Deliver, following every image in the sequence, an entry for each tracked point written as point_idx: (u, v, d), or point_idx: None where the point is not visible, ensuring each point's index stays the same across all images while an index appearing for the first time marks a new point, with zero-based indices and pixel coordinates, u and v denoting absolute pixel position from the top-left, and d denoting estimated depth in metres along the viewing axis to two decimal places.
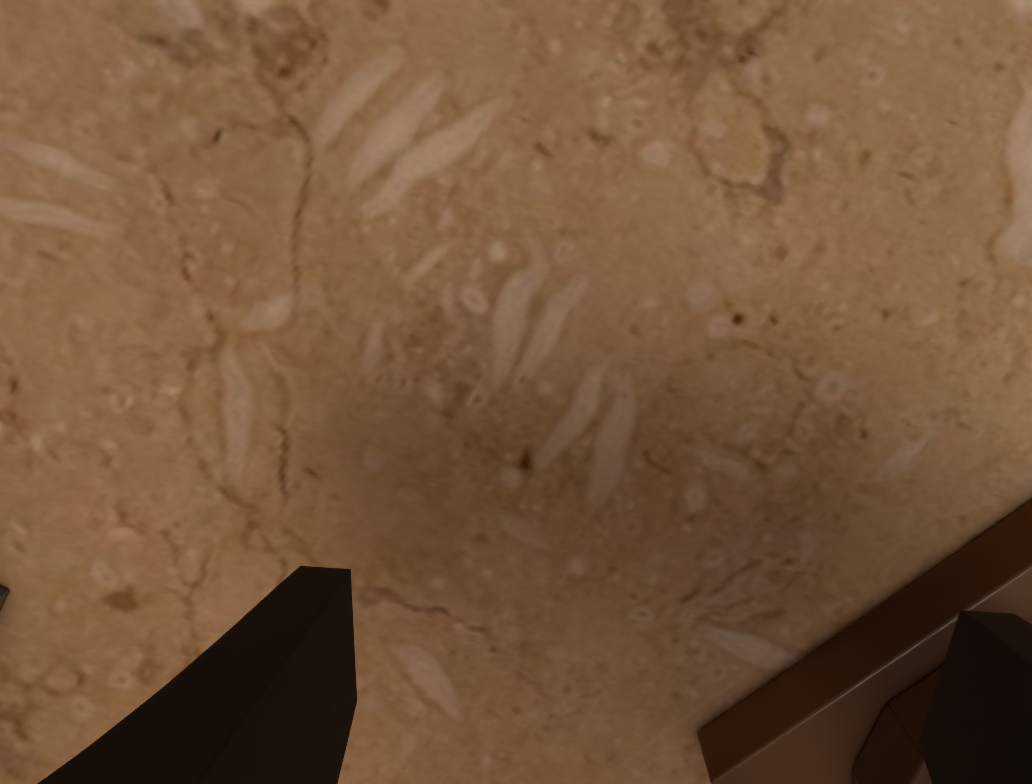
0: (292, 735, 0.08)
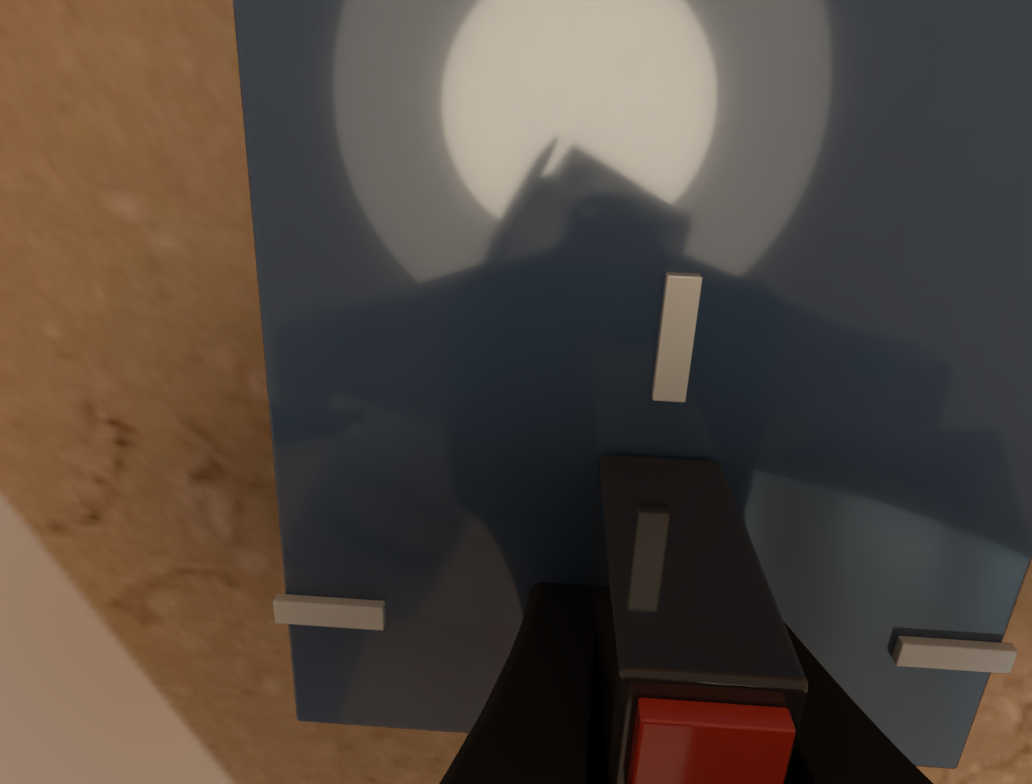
0: None
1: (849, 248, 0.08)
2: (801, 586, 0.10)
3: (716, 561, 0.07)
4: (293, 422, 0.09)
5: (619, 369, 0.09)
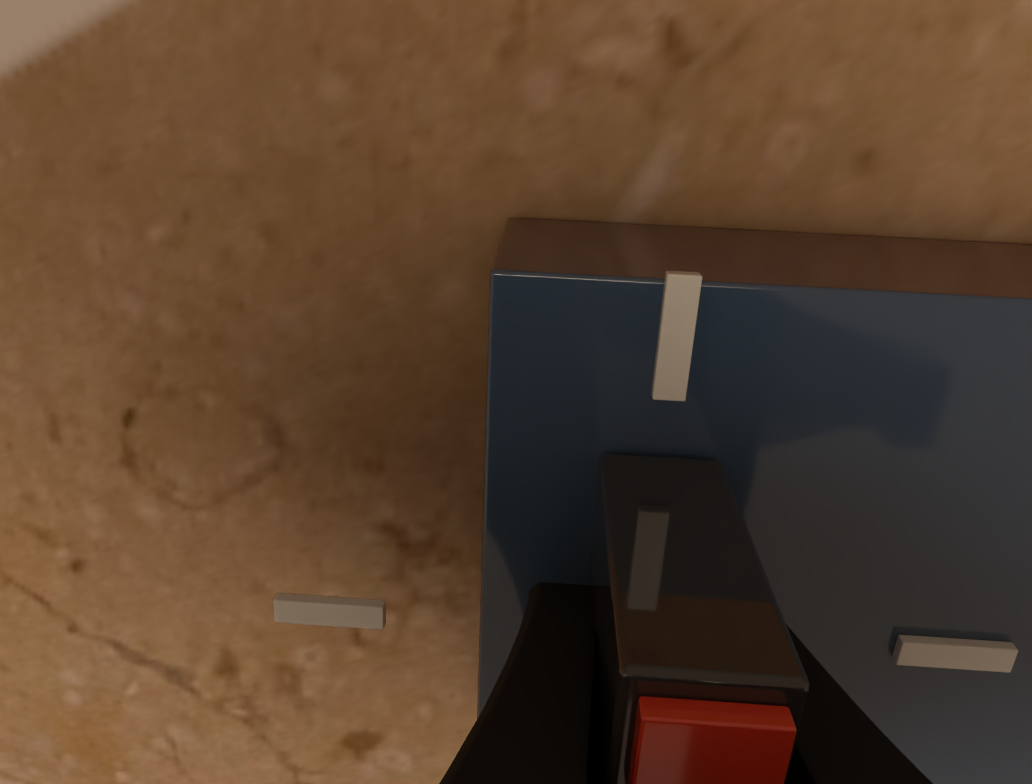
0: None
1: (998, 751, 0.10)
2: None
3: (717, 560, 0.07)
4: (929, 320, 0.08)
5: (928, 611, 0.10)
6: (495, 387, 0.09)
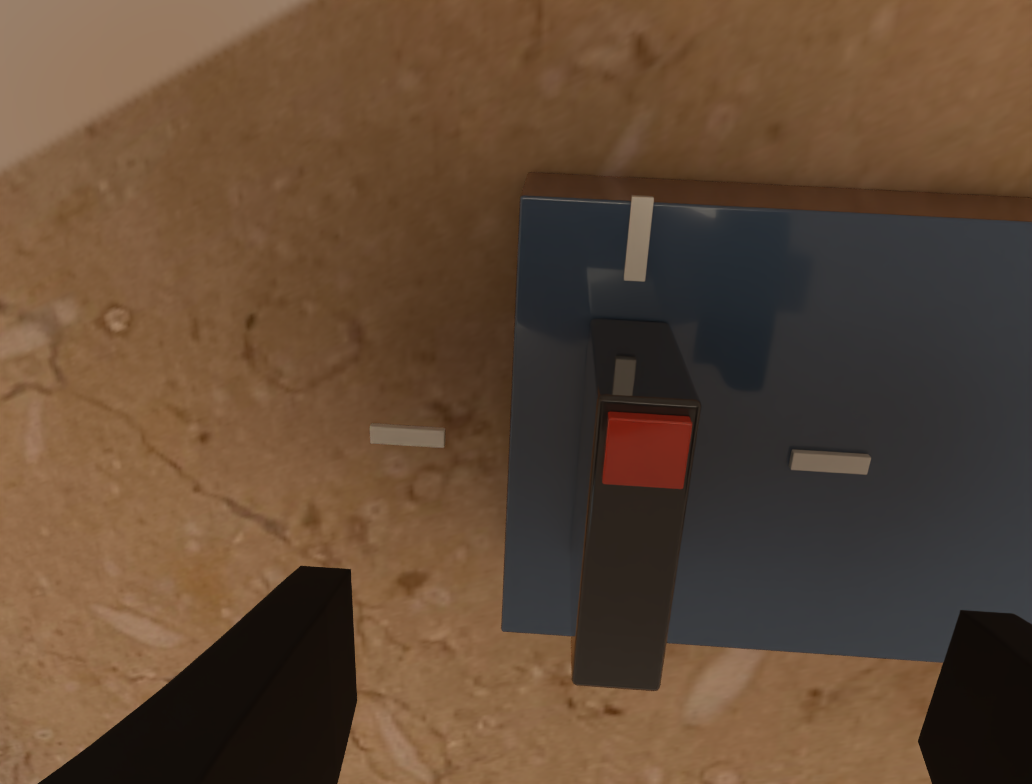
0: (292, 735, 0.08)
1: (866, 538, 0.15)
2: None
3: (658, 361, 0.12)
4: (798, 227, 0.13)
5: (811, 432, 0.14)
6: (522, 274, 0.13)
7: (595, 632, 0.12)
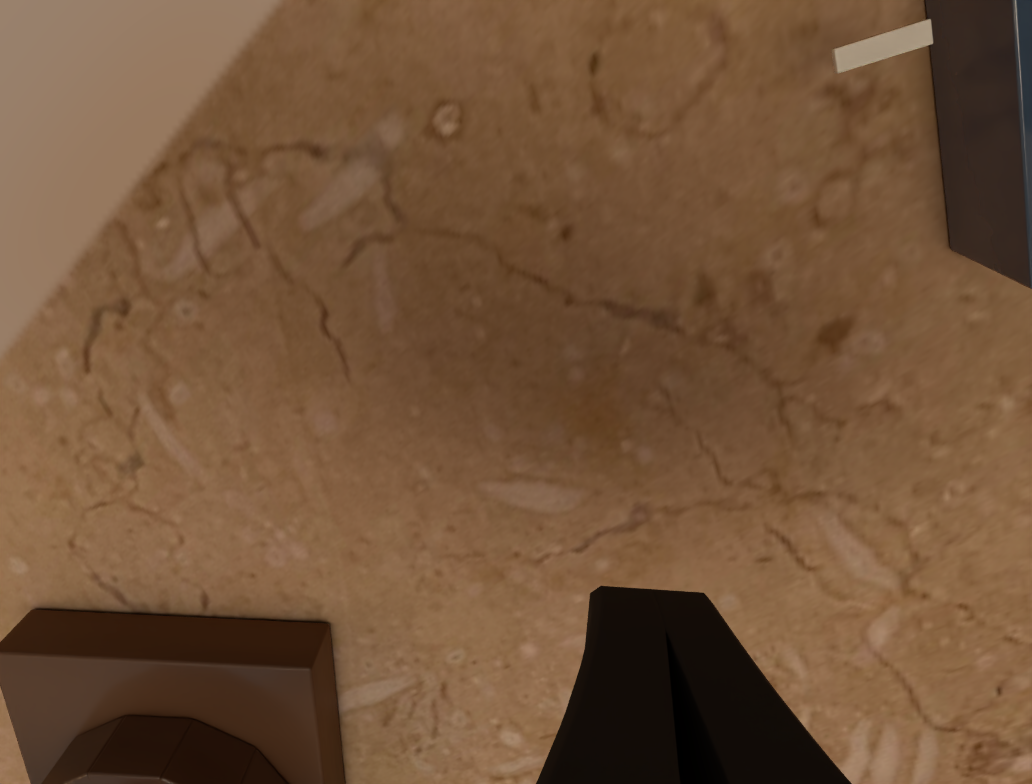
0: None
1: None
2: None
3: None
4: None
5: None
6: None
7: None
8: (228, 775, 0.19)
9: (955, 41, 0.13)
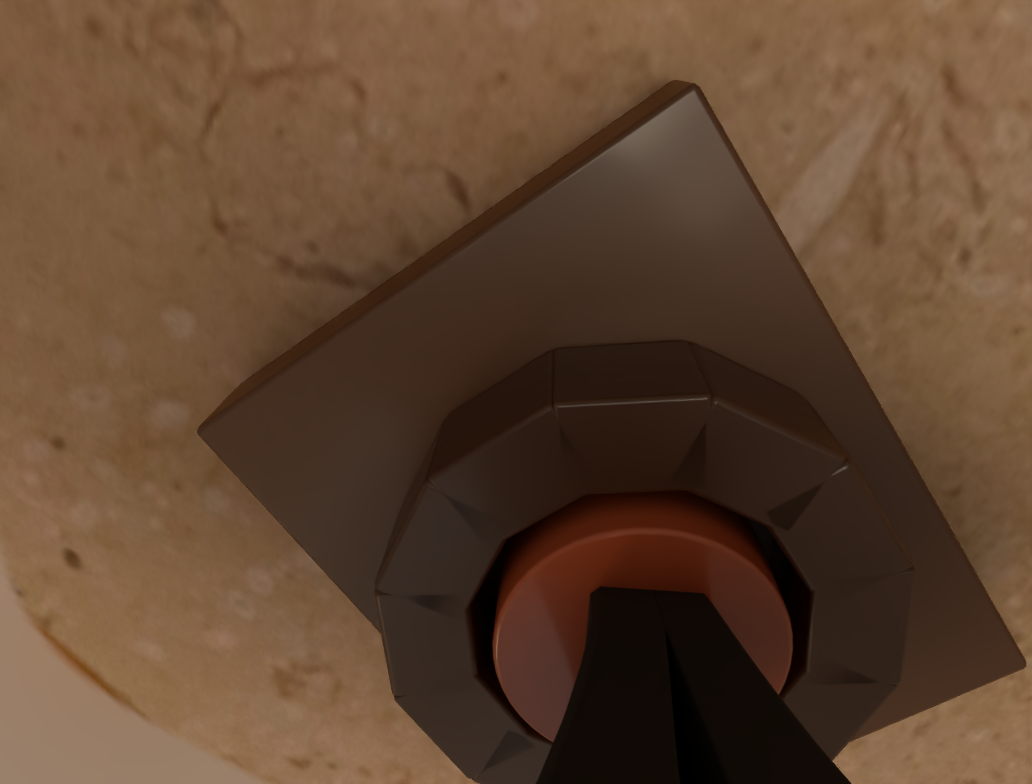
0: None
1: None
2: None
3: None
4: None
5: None
6: None
7: None
8: (671, 369, 0.09)
9: None
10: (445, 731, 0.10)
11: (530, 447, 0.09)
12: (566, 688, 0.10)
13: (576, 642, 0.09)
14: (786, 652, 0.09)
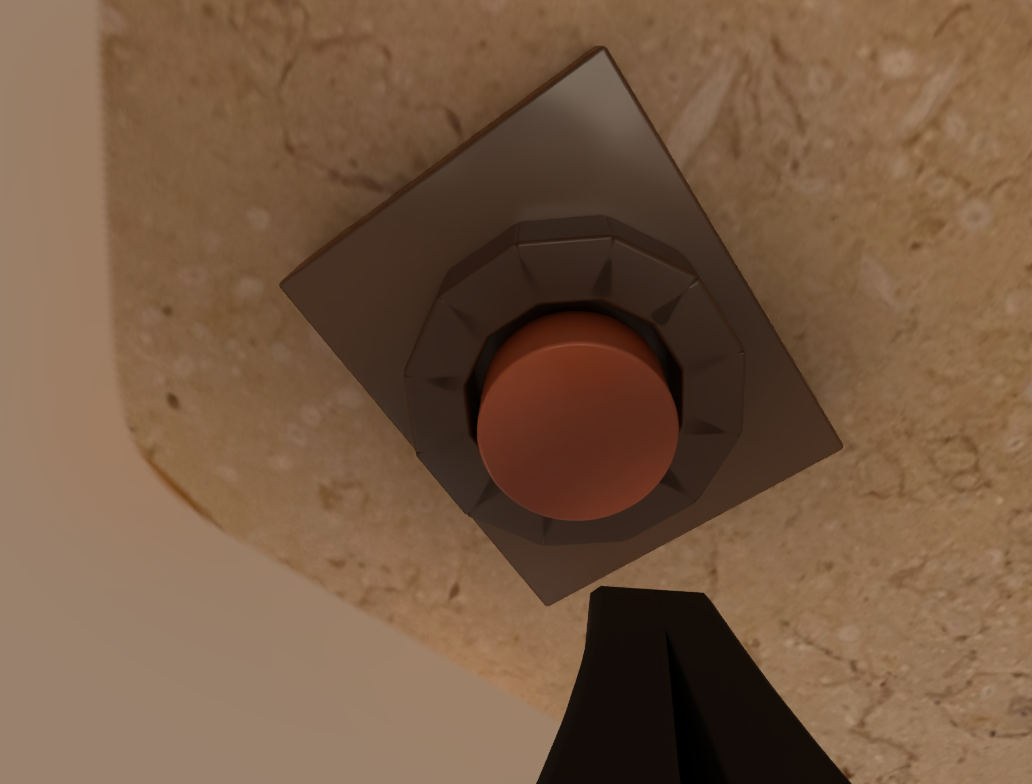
0: None
1: None
2: None
3: None
4: None
5: None
6: None
7: None
8: (591, 227, 0.15)
9: None
10: (450, 477, 0.16)
11: (503, 272, 0.14)
12: (527, 462, 0.14)
13: (532, 426, 0.14)
14: (674, 430, 0.14)
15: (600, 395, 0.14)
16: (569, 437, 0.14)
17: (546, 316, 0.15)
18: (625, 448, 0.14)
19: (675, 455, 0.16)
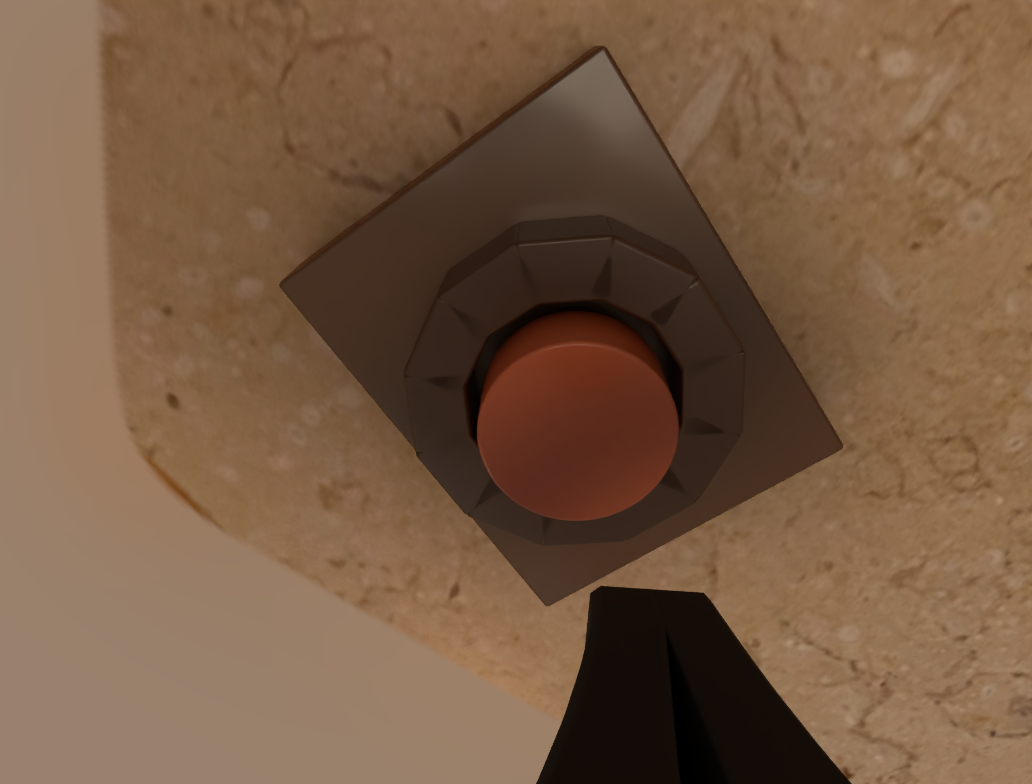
0: None
1: None
2: None
3: None
4: None
5: None
6: None
7: None
8: (591, 227, 0.15)
9: None
10: (450, 477, 0.16)
11: (503, 272, 0.14)
12: (527, 462, 0.14)
13: (532, 426, 0.14)
14: (674, 430, 0.14)
15: (600, 395, 0.14)
16: (569, 437, 0.14)
17: (546, 316, 0.15)
18: (625, 448, 0.14)
19: (675, 455, 0.16)
